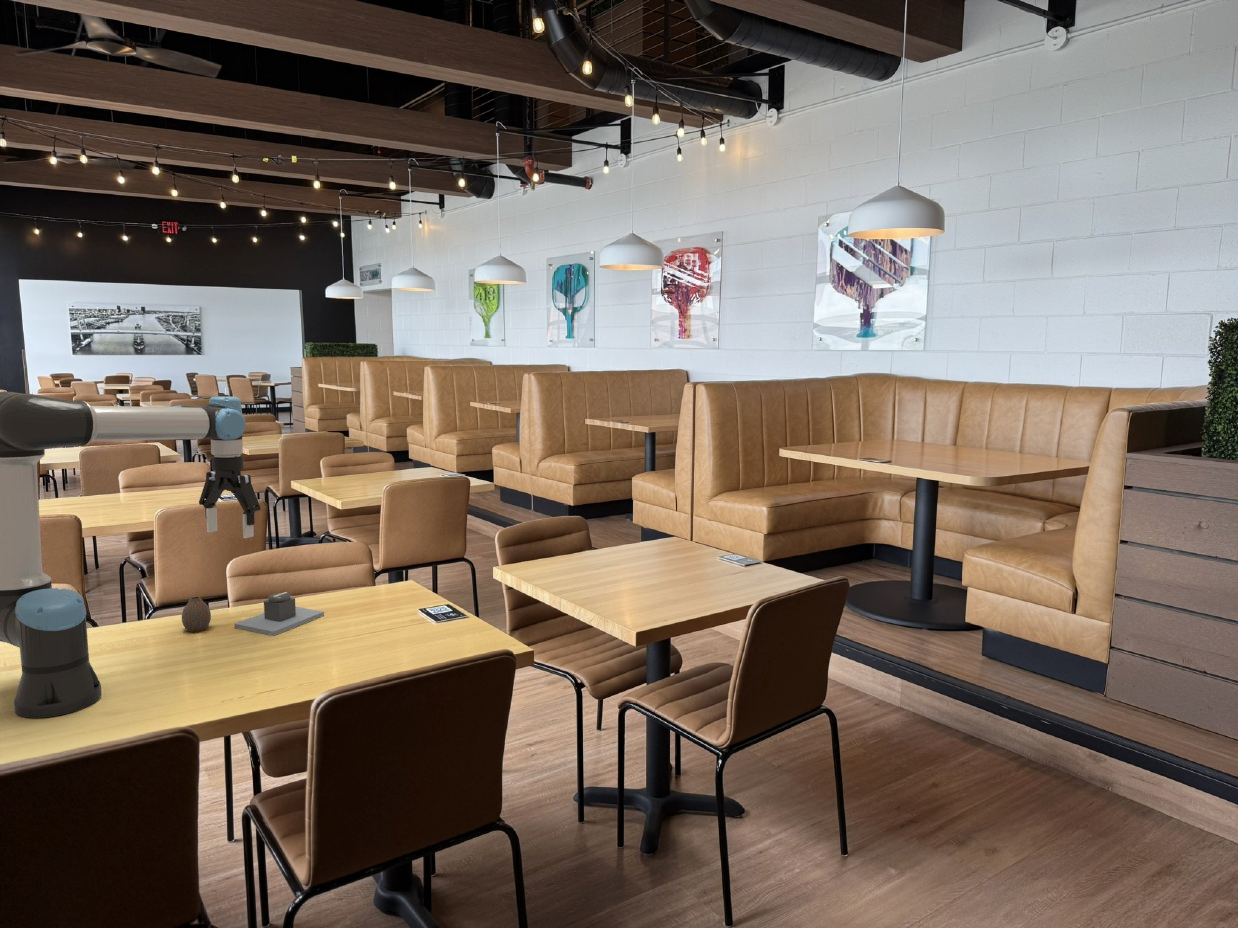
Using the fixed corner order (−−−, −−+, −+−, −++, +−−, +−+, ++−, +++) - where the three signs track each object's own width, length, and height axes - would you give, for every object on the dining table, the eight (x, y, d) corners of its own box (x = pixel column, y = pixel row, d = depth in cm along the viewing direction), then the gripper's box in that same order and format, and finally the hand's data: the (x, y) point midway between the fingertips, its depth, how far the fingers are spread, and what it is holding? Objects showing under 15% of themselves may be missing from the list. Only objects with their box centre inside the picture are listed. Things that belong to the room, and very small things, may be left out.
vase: (203, 634, 214) (201, 601, 212) (177, 633, 214) (174, 601, 213) (216, 625, 221) (214, 593, 219) (191, 624, 221) (189, 593, 219)
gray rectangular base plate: (273, 635, 213) (272, 616, 212) (234, 627, 219) (233, 609, 218) (324, 615, 229) (323, 597, 229) (286, 608, 235) (285, 591, 234)
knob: (280, 621, 220) (278, 598, 219) (264, 618, 222) (263, 595, 222) (295, 615, 225) (294, 593, 224) (280, 612, 227) (279, 590, 227)
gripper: (273, 457, 213) (275, 536, 216) (207, 450, 224) (209, 527, 226) (249, 460, 207) (252, 542, 209) (182, 453, 217) (185, 531, 220)
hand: (230, 534), depth 218 cm, fingers open, 13 cm apart
